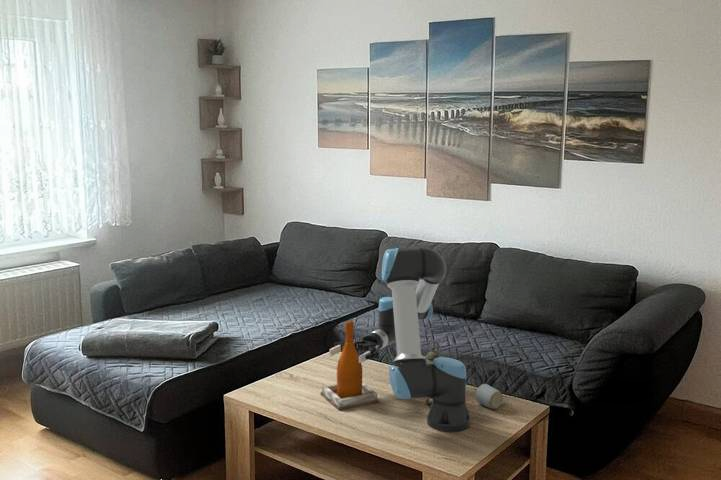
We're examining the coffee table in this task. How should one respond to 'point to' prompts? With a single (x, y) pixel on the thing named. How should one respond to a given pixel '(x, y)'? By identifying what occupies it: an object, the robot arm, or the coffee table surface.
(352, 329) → the wine bottle
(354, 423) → the coffee table surface
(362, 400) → the bottle stand
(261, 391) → the coffee table surface
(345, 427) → the coffee table surface
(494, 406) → the ceramic mug
